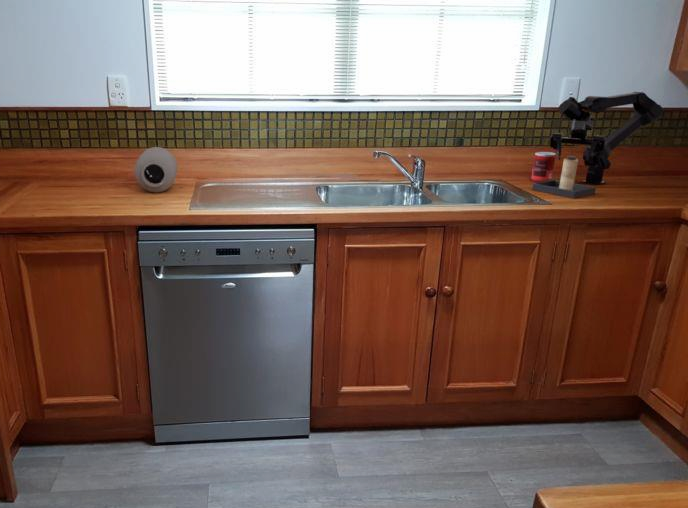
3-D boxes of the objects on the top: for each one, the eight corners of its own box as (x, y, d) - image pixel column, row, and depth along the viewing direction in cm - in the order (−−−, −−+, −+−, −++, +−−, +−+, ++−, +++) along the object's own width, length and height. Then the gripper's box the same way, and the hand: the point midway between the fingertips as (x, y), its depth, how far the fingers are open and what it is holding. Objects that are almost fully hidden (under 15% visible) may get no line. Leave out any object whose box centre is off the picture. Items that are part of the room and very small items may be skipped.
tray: (553, 185, 236) (554, 179, 235) (594, 193, 223) (596, 187, 222) (532, 189, 230) (533, 183, 229) (573, 198, 216) (575, 191, 215)
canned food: (547, 179, 248) (552, 151, 244) (553, 183, 241) (558, 155, 237) (528, 178, 249) (532, 151, 245) (534, 182, 242) (538, 154, 238)
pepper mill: (563, 190, 227) (569, 155, 222) (574, 192, 223) (581, 156, 218) (555, 191, 224) (561, 156, 219) (567, 194, 221) (573, 158, 216)
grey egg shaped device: (195, 172, 233) (180, 175, 209) (171, 201, 237) (154, 207, 212) (157, 138, 231) (138, 138, 207) (133, 168, 234) (112, 170, 210)
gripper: (555, 110, 227) (546, 144, 222) (610, 113, 219) (603, 148, 214) (554, 130, 236) (545, 163, 232) (607, 133, 228) (599, 167, 223)
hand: (572, 160), depth 225 cm, fingers open, 9 cm apart
